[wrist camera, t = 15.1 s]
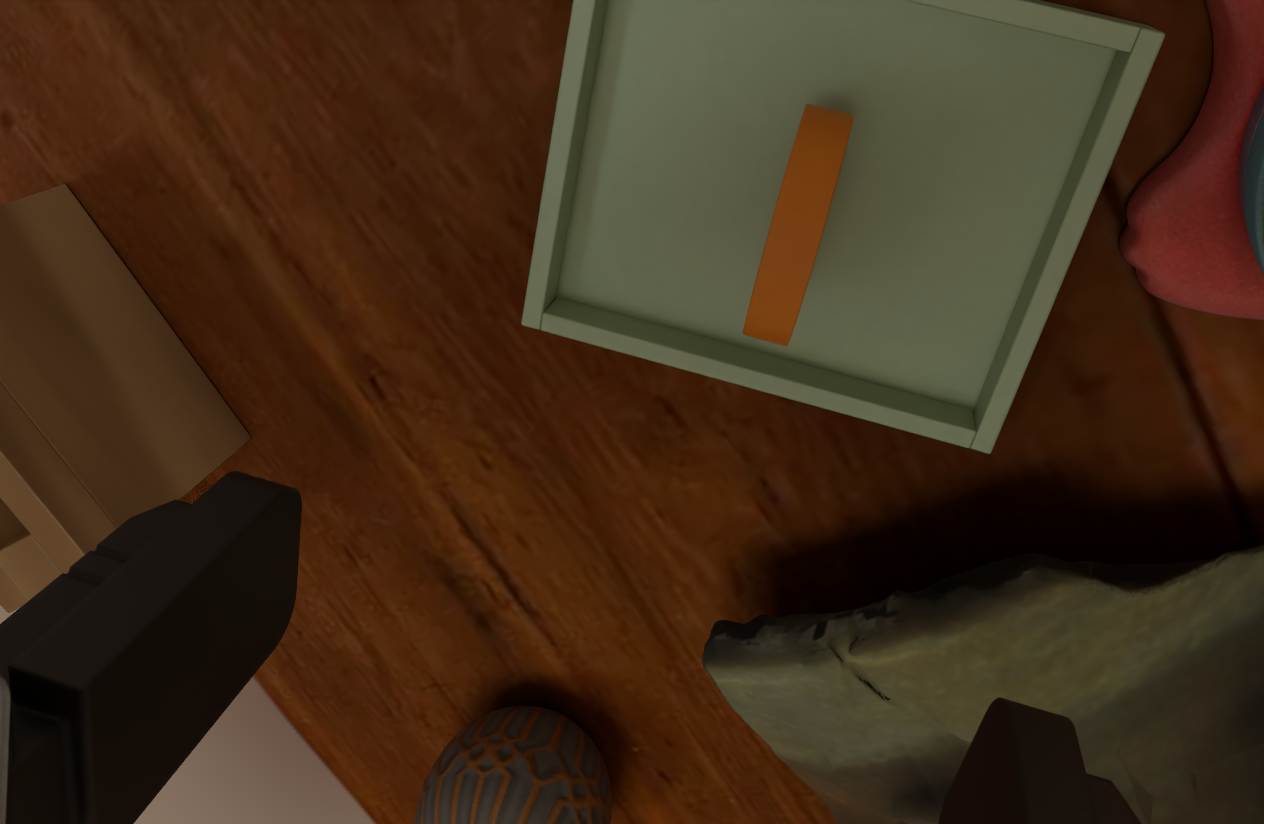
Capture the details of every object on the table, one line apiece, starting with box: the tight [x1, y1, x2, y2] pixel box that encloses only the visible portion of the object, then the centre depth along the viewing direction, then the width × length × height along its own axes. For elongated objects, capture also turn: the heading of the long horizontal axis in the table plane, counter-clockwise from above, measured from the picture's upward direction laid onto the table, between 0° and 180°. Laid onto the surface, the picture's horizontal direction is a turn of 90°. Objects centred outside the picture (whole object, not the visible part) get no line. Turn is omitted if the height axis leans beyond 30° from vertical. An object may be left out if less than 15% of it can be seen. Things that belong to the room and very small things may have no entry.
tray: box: [521, 0, 1165, 454], centre depth 29 cm, size 14×12×2 cm
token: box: [743, 104, 853, 346], centre depth 27 cm, size 1×6×6 cm, turn 169°
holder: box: [0, 184, 251, 613], centre depth 33 cm, size 4×10×8 cm, turn 31°
